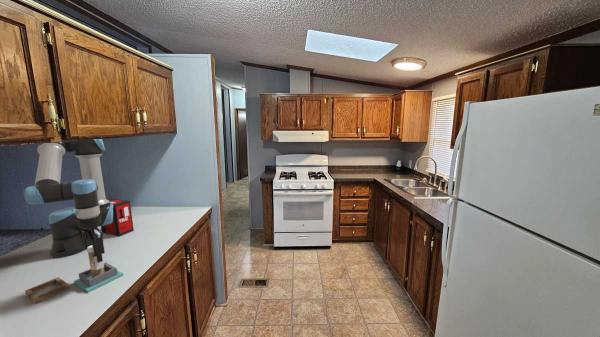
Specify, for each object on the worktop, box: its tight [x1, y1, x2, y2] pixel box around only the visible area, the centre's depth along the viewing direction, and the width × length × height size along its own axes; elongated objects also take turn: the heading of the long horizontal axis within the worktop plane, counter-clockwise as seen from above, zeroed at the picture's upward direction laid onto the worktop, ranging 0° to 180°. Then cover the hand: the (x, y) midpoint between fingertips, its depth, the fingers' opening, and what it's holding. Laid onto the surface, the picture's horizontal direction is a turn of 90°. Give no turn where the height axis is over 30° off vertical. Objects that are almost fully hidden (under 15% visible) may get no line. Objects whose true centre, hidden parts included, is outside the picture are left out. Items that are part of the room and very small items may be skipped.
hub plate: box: [73, 262, 124, 293], centre depth 107 cm, size 13×13×4 cm
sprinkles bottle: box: [86, 245, 105, 277], centre depth 106 cm, size 5×5×13 cm
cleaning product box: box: [100, 198, 135, 237], centre depth 154 cm, size 16×9×20 cm, turn 70°
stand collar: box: [24, 276, 70, 304], centre depth 99 cm, size 10×10×2 cm
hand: (97, 266), depth 106 cm, fingers closed on sprinkles bottle, 4 cm apart
